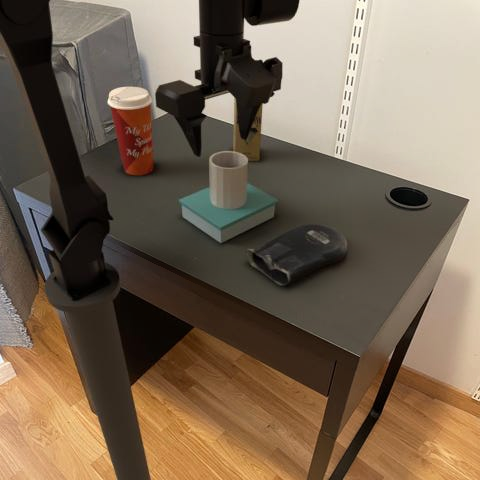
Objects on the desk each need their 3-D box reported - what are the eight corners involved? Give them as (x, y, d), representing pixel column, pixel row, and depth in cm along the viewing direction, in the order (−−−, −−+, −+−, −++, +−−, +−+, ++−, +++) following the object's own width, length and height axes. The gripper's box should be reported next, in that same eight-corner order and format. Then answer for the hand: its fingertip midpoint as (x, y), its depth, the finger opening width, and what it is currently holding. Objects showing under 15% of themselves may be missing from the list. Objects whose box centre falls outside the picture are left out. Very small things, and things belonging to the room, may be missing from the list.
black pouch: (291, 301, 69) (359, 250, 75) (287, 271, 65) (359, 220, 71) (248, 276, 75) (314, 230, 81) (243, 247, 71) (312, 201, 77)
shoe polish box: (259, 160, 97) (262, 99, 88) (234, 160, 97) (236, 99, 88) (257, 149, 100) (260, 89, 92) (233, 149, 100) (234, 89, 92)
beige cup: (226, 213, 77) (226, 172, 72) (202, 198, 80) (201, 158, 75) (253, 201, 80) (256, 161, 75) (229, 186, 83) (230, 147, 78)
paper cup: (138, 182, 89) (128, 105, 80) (110, 169, 93) (96, 93, 83) (167, 167, 94) (161, 92, 84) (139, 155, 97) (130, 81, 87)
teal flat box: (220, 245, 76) (220, 227, 74) (179, 216, 81) (178, 199, 79) (276, 217, 82) (278, 200, 80) (235, 192, 88) (235, 175, 85)
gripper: (205, 59, 53) (207, 187, 64) (316, 32, 62) (302, 148, 73) (147, 36, 59) (158, 157, 70) (257, 14, 68) (252, 124, 79)
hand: (221, 147), depth 73 cm, fingers open, 9 cm apart
